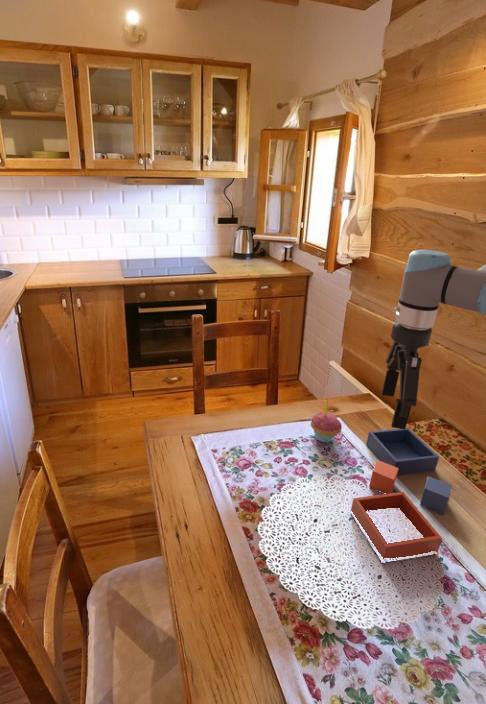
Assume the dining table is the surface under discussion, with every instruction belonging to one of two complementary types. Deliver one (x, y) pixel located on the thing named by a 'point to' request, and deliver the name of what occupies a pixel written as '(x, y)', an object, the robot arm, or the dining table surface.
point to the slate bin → (402, 450)
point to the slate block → (435, 495)
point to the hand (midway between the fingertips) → (392, 410)
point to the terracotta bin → (411, 512)
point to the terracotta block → (383, 477)
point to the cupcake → (325, 425)
